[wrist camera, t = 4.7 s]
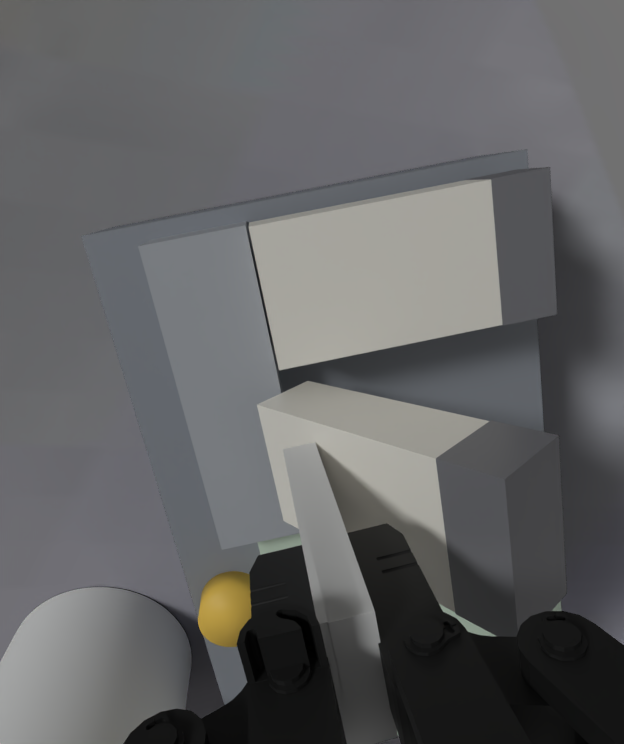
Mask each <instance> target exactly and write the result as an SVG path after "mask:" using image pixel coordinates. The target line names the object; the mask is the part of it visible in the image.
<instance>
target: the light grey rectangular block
mask: <svg viewBox="0 0 624 744" xmlns="http://www.w3.org/2000/svg"><path fill="white" fill-rule="evenodd" d="M257 408H258V412H259V417H260V421H261V425H262V430H263V434H264V438H265V443H266V447H267V451H268V456H269V460H270V464H271V469H272V473H273V477H274V482H275V486H276V490H277V495H278V499H279V503H280V508H281V512H282V516H283V521H285V522H287V523H288V524H290V525H292V526H294V527H296V528H298V523H297V518H296V513H295V508H294V503H293V498H292V492H291V487H290V482H289V477H288V472H287V467H286V462H285V457H284V452H283V449H287V448H291V447H295V446H300V445H304V444H308V443H314V442H315V444H316V446H317V449H318V452H319V455H320V458H321V461H322V463H323V466H324V469H325V472H326V475H327V478H328V480H329V483H330V486H331V489H332V492H333V494H334V497H335V500H336V503H337V506H338V509H339V511H340V514H341V517H342V520H343V523H344V526H345V528H346V531H347V533H349V532H353V531H357V530H361V529H365V528H370V527H374V526H378V525H382V524H386V523H387V524H389V525H390V526H392V527H393V528H395V529H396V530H398V531H399V532H401V533H402V534H403V535H404V537H405V539H406V541H407V543H408V545H409V547H410V549H411V552H412V553H413V555H414V557H415V559H416V561H417V563H418V565H419V566H420V568H421V570H422V572H423V574H424V576H425V578H426V580H427V582H428V584H429V586H430V588H431V590H432V592H433V593H434V595H435V597H436V599H437V601H438V603H439V604H440V605H442V606H444V607H446V608H448V609H450V610H452V611H453V612H455V614H456V615H458V616H460V617H462V618H464V619H466V620H468V621H469V622H471V623H473V624H475V625H477V626H479V627H481V628H482V629H484V630H486V631H488V632H490V633H492V634H494V635H496V636H506V637H517V633H518V631H519V628H520V626H521V624H522V623H523V622H524V621H525V620H527V619H528V618H529V617H530V616H532V615H535V614H538V613H541V612H544V611H552V610H553V609H554V608H555V607H556V605H557V604H558V603H559V602H560V601H561V600H562V598H563V597H564V596H565V595H566V594H567V585H566V565H565V545H564V525H563V505H562V485H561V465H560V446H559V435H556V434H551V433H547V432H542V431H538V430H533V429H529V428H524V427H520V426H515V425H510V424H506V423H501V422H497V421H492V420H491V421H487V420H482V419H478V418H473V417H469V416H464V415H460V414H455V413H451V412H446V411H442V410H437V409H433V408H428V407H424V406H419V405H415V404H410V403H406V402H401V401H397V400H392V399H388V398H383V397H379V396H374V395H370V394H365V393H360V392H356V391H351V390H347V389H342V388H338V387H333V386H329V385H324V384H320V383H315V382H311V381H306V382H304V383H302V384H300V385H298V386H296V387H294V388H291V389H289V390H287V391H285V392H283V393H281V394H279V395H276V396H274V397H272V398H270V399H268V400H266V401H264V402H261V403H259V404H257ZM298 529H299V528H298Z"/></svg>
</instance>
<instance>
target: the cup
mask: <svg viewBox="0 0 624 744" xmlns="http://www.w3.org/2000/svg"><path fill="white" fill-rule="evenodd" d="M191 663H192V655H191V647H190V643H189V640H188V638H187V635H186V633H185V631H184V629H183V628H182V626H181V625H180V623H179V622H178V621H177V619H176V618H175V617H174V616H173V615H172V614H171V613H170V612H169V611H168V610H167V609H165V608H164V607H163V606H161V605H160V604H158V603H157V602H155V601H153V600H151V599H149V598H147V597H145V596H143V595H140V594H138V593H135V592H131V591H128V590H123V589H118V588H111V587H89V588H81V589H76V590H72V591H68V592H65V593H62V594H60V595H57V596H55V597H53V598H51V599H49V600H47V601H45V602H44V603H42V604H41V605H39V606H38V607H37V608H35V609H34V610H33V611H32V612H31V613H30V614H29V615H28V616H27V617H26V618H25V619H24V621H23V622H22V624H21V625H20V626H19V628H18V630H17V632H16V634H15V636H14V637H13V639H12V641H11V643H10V645H9V647H8V649H7V650H6V652H5V654H4V656H3V658H2V660H1V662H0V744H123V743H124V742H125V740H126V739H127V737H128V736H129V734H130V733H131V732H132V731H133V730H134V729H135V728H136V727H138V726H139V725H140V724H141V723H142V722H143V721H144V720H146V719H148V718H150V717H152V716H154V715H155V714H157V713H159V712H162V711H167V710H172V709H183V710H185V709H186V701H187V694H188V687H189V679H190V672H191Z"/></svg>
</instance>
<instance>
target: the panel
mask: <svg viewBox="0 0 624 744" xmlns="http://www.w3.org/2000/svg"><path fill="white" fill-rule="evenodd" d="M81 237H82V240H83V244H84V247H85V250H86V253H87V257H88V260H89V263H90V267H91V270H92V273H93V276H94V280H95V283H96V286H97V289H98V293H99V296H100V299H101V303H102V306H103V309H104V312H105V316H106V319H107V322H108V326H109V329H110V332H111V335H112V339H113V342H114V345H115V348H116V352H117V355H118V358H119V362H120V365H121V368H122V371H123V375H124V378H125V381H126V385H127V388H128V391H129V394H130V398H131V401H132V404H133V407H134V411H135V414H136V417H137V421H138V424H139V427H140V430H141V434H142V437H143V440H144V443H145V447H146V450H147V453H148V457H149V460H150V463H151V466H152V470H153V473H154V476H155V480H156V483H157V486H158V489H159V493H160V496H161V499H162V502H163V506H164V509H165V512H166V516H167V519H168V522H169V525H170V529H171V532H172V535H173V539H174V542H175V545H176V548H177V552H178V555H179V558H180V561H181V565H182V568H183V571H184V575H185V578H186V581H187V584H188V588H189V591H190V594H191V598H192V601H193V604H194V607H195V611H196V614H197V617H198V625H199V629H200V631H201V633H202V634H203V637H204V640H205V643H206V647H207V650H208V653H209V656H210V660H211V663H212V666H213V670H214V673H215V676H216V679H217V683H218V686H219V689H220V693H221V696H222V699H223V702H224V705H226V704H227V703H229V702H230V701H231V700H233V699H234V698H235V697H236V696H237V695H238V694H239V693H240V692H241V691H242V689H243V688H244V686H245V685H246V683H247V679H246V676H245V672H244V669H243V665H242V662H241V658H240V655H239V651H238V648H237V640H238V636H239V633H240V630H241V629H242V628H243V627H244V625H245V624H246V623H247V621H248V620H249V619H250V618H251V598H250V593H251V591H250V576H249V572H250V570H251V568H252V566H253V564H254V562H255V560H256V558H257V557H258V555H262V554H266V553H270V552H274V551H279V550H283V549H287V548H291V547H295V546H299V545H302V543H301V538H300V533H299V529H298V528H296V527H294V526H292V525H290V524H288V523H287V522H285V521H283V516H282V512H281V508H280V503H279V499H278V495H277V490H276V486H275V482H274V477H273V473H272V469H271V464H270V460H269V456H268V451H267V447H266V443H265V438H264V434H263V430H262V425H261V421H260V417H259V412H258V408H257V404H259V403H261V402H264V401H266V400H268V399H270V398H272V397H274V396H276V395H279V394H281V393H283V392H285V391H287V390H289V389H291V388H294V387H296V386H298V385H300V384H302V383H304V382H306V381H311V382H315V383H320V384H324V385H329V386H333V387H338V388H342V389H347V390H351V391H356V392H360V393H365V394H370V395H374V396H379V397H383V398H388V399H392V400H397V401H401V402H406V403H410V404H415V405H419V406H424V407H428V408H433V409H437V410H442V411H446V412H451V413H455V414H460V415H464V416H469V417H473V418H478V419H482V420H487V421H491V420H492V421H497V422H501V423H506V424H510V425H515V426H520V427H524V428H529V429H533V430H538V431H542V432H544V423H543V406H542V389H541V372H540V355H539V339H538V322H537V319H538V318H543V317H548V316H553V315H557V301H556V280H555V259H554V238H553V218H552V197H551V176H550V167H545V168H530V169H528V153H527V149H526V150H519V151H511V152H504V153H497V154H490V155H483V156H477V157H472V158H466V159H461V160H456V161H451V162H446V163H441V164H436V165H430V166H425V167H420V168H415V169H410V170H405V171H400V172H394V173H389V174H384V175H379V176H374V177H369V178H364V179H358V180H353V181H348V182H343V183H338V184H333V185H328V186H322V187H317V188H312V189H307V190H302V191H297V192H292V193H286V194H281V195H276V196H271V197H266V198H261V199H256V200H250V201H245V202H240V203H235V204H230V205H225V206H219V207H214V208H209V209H204V210H199V211H194V212H189V213H183V214H178V215H173V216H168V217H163V218H158V219H153V220H147V221H142V222H137V223H132V224H127V225H122V226H117V227H112V228H108V229H105V230H101V231H98V232H94V233H90V234H87V235H83V236H81ZM439 605H440V604H439ZM440 607H441V609H442V611H443V612H445V613H447V614H449V615H451V616H453V617H455V618H457V619H458V620H459V621H460V623H461V624H462V625H463V626H464V627H465V628H466V630H467V631H468V632H471V633H474V634H478V635H484V636H496V635H494V634H492V633H490V632H488V631H486V630H484V629H482V628H481V627H479V626H477V625H475V624H473V623H471V622H469V621H468V620H466V619H464V618H462V617H460V616H458V615H456V614H455V612H453V611H452V610H450V609H448V608H446V607H444V606H442V605H440ZM552 611H561V601H560V602H559V603H558V604H557V605H556V607H555V608H554V609H553V610H552ZM397 734H398V732H397Z"/></svg>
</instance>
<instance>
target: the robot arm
mask: <svg viewBox="0 0 624 744" xmlns="http://www.w3.org/2000/svg"><path fill="white" fill-rule="evenodd" d="M283 452H284V457H285V462H286V467H287V472H288V477H289V482H290V487H291V492H292V498H293V503H294V508H295V513H296V518H297V523H298V528H299V533H300V538H301V543H302V545H299V546H295V547H291V548H287V549H283V550H279V551H274V552H270V553H266V554H262V555H258V557H257V558H256V560H255V562H254V564H253V566H252V568H251V570H250V572H249V576H250V591H251V593H250V598H251V618H250V619H249V620H248V621H247V623H246V624H245V625H244V627H243V628H242V629H241V630H240V633H239V636H238V640H237V648H238V651H239V655H240V658H241V662H242V665H243V669H244V672H245V676H246V679H247V683H246V685H245V686H244V688H243V689H242V691H241V692H240V693H239V694H238V695H237V696H236V697H235V698H234V699H233V700H231V701H230V702H229V703H227V704H226V705H224V706H223V707H221V708H220V709H218V710H216V711H214V712H213V713H211V714H209V715H207V716H206V717H204V718H202V719H201V718H199V717H198V716H197V715H196V714H194V713H193V712H192V711H189V710H183V709H172V710H167V711H162V712H159V713H157V714H155V715H154V716H152V717H150V718H148V719H146V720H144V721H143V722H142V723H141V724H140V725H139V726H138V727H136V728H135V729H134V730H133V731H132V732H131V733H130V734H129V736H128V737H127V739H126V740H125V742H124V743H123V744H376V743H379V742H383V741H386V740H390V739H394V738H397V737H398V735H399V738H400V741H401V744H624V645H622V644H621V643H620V642H618V641H617V640H616V639H614V638H613V637H612V636H610V635H609V634H608V633H606V632H605V631H604V630H602V629H601V628H600V627H598V626H597V625H596V624H594V623H593V622H591V621H589V620H587V619H585V618H583V617H582V616H580V615H576V614H572V613H568V612H564V611H544V612H541V613H538V614H535V615H532V616H530V617H529V618H528V619H527V620H525V621H524V622H523V623H522V624H521V626H520V628H519V631H518V633H517V637H506V636H484V635H478V634H474V633H471V632H468V631H467V630H466V628H465V627H464V626H463V625H462V624H461V623H460V621H459V620H458V619H457V618H455V617H453V616H451V615H449V614H447V613H445V612H443V611H442V609H441V607H440V605H439V603H438V601H437V599H436V597H435V595H434V593H433V592H432V590H431V588H430V586H429V584H428V582H427V580H426V578H425V576H424V574H423V572H422V570H421V568H420V566H419V565H418V563H417V561H416V559H415V557H414V555H413V553H412V552H411V549H410V547H409V545H408V543H407V541H406V539H405V537H404V535H403V534H402V533H401V532H399V531H398V530H396V529H395V528H393V527H392V526H390V525H389V524H387V523H386V524H382V525H378V526H374V527H370V528H365V529H361V530H357V531H353V532H349V533H347V531H346V528H345V526H344V523H343V520H342V517H341V514H340V511H339V509H338V506H337V503H336V500H335V497H334V494H333V492H332V489H331V486H330V483H329V480H328V478H327V475H326V472H325V469H324V466H323V463H322V461H321V458H320V455H319V452H318V449H317V446H316V444H315V442H314V443H308V444H304V445H300V446H295V447H291V448H287V449H283ZM397 732H398V734H397Z"/></svg>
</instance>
